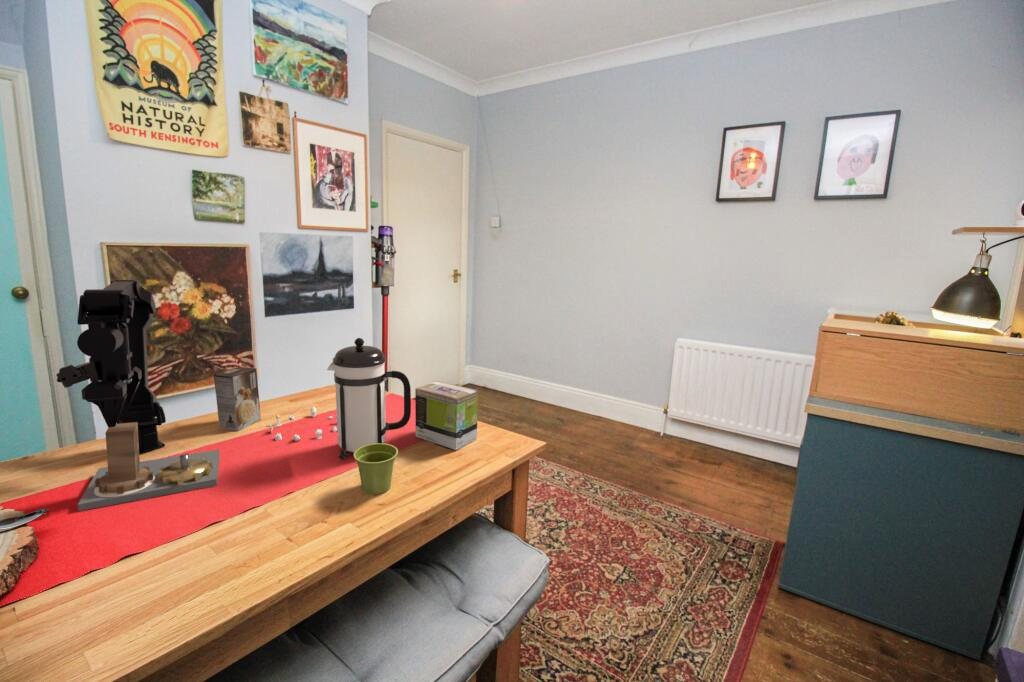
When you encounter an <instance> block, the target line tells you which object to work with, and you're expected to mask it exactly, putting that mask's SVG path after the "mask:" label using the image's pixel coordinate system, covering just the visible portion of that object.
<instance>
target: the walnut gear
mask: <svg viewBox="0 0 1024 682" xmlns="http://www.w3.org/2000/svg"><path fill="white" fill-rule="evenodd" d="M105 444H106V458H107V460H106V461H107V467H108V471H107V472H106V474H105V475H104V476H102V477H101V478H96V480H95V487H99V493H102V494H103V493H105V492H117V494H122V493H124V491H129V490H133V489H136V488H139V489H140V488H143V487H145V484H146V483H147V482H148V481H150V480H153V472H149V467H146V466H145V467H143V468H141V467H140V462H141V461H140V454H139V442H138V423H137V422H134V423H121V424H116V426H115V427H107V430H106V431H105Z"/></svg>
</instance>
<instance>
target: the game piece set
mask: <svg viewBox="0 0 1024 682" xmlns="http://www.w3.org/2000/svg"><path fill="white" fill-rule="evenodd" d="M317 410H318V409H317V408H316V407H314V406H312V407H311V408H310V416H311V417H312V418H315V417H316V415H317ZM290 413H291V415H290V416H289V419H290V420H292V421H295V420H296V417H294V414H293V411H290ZM334 417H335V419H336V420H337V415H335V414H333V415H332V416H331V415H330V416H328V419H329V420H332V419H333V418H334ZM279 418H280V415H279V414H278V413H277V414H276V415H275V419H276V422H273V424H270V425H269V427H270V428H269V430H270V434H272V433H273V431H274V428H273V427H281V426H282V425H283V422H282V421H280V420H279ZM314 432H315V434H316V437H315V438H316V439H317V440H320V439H323V437H322V434H323V430H322V429H320V428H318V429H316V430H315V431H314ZM331 432H333V433H335V432H337V426H336V425H334V426H333V427H332V431H331ZM274 438H275V439H274V440H275V441H281V440H283V437H282V433H281V432H276V435H275V436H274ZM300 439H301V437H300V435H298V434H297V433H295V434H294V436H293V438H292V441H293V440H294V441H295V442H298V441H299V440H300Z"/></svg>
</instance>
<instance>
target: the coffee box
mask: <svg viewBox="0 0 1024 682" xmlns="http://www.w3.org/2000/svg"><path fill="white" fill-rule="evenodd" d="M213 379H214V387H215V389H214V390H215V399H216V406H217V408H216V409H217V417H218V426H219V429H221V430H229V431H235V432H239V431H241V430H243V429H245V428H247V427H249V426H250V425H251V426H252V424H255V423H256V422H259V421H261V420H262V416H261V405H260V404H261V403H260V395H259V384H258V373H257V368H256V367H243V366H236V367H234V368H230V369H227V370H224V371H220V372H217V373H215V374H213Z"/></svg>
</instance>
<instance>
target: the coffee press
mask: <svg viewBox="0 0 1024 682" xmlns="http://www.w3.org/2000/svg"><path fill="white" fill-rule="evenodd" d="M364 343H365V341H364V339H363V338H361V337H358V338H356V339H355V340H354V344H355V345H352V346H347V347H343V348H341V349H339V350H338V351H337V352H336V353H335V355H334V357H333V358H332V362H331V363H330V364H329V366H328V367H327V369H326V371H334V373H333V380H334V383H335V402H336V403H335V407H336V409H335V410H336V416H337V419H336V425H337V426H336V428H337V431H336V432H337V444H338V446H339V447H340V451H339V453H338V456H337V457H338V459H340V460H346V459H347V458H348V456H349V454H351V453H354V452H355V451H356V450H357V449H359V448H360V447H362V446H365V445H369V444H375V443H385V442H386V435H387V434H386V433H387V431H394V430H398V429H402V428H404V427H405V426H406V425H407V424H408V422H409V421H410V419H411V415H412V414H411V413H412V410H411V409H412V402H411V401H412V397H411V396H412V393H411V392H412V391H411V384H410V380H409V378H408V377H407V375H406V374H405V373H403V372H401V371H399V370H398V371H397V370H391V371H390V370H389V371H386V370H385V363H386V361H387V356H385V355H384V352H383V351H382V349H380V348H378V347H375V346H373V345H372V346H371V345H364ZM386 378H387V379H388V378H392V379H398V380H399V381H400V382H401V383H402V385H403V416H402V418H401V419H400V420H398V421H395V422H390V423H389V422H386V388H385V387H386V386H385V385H386V384H385V383H386Z"/></svg>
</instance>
